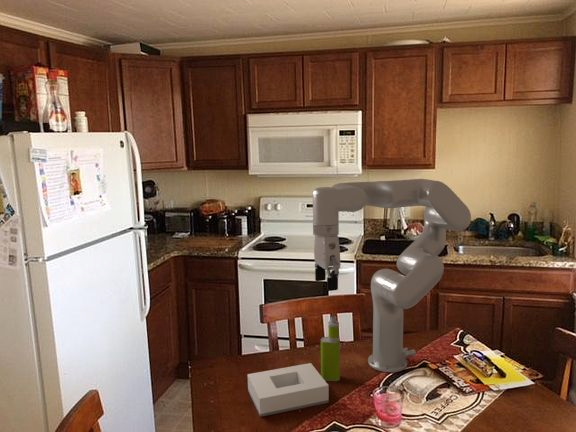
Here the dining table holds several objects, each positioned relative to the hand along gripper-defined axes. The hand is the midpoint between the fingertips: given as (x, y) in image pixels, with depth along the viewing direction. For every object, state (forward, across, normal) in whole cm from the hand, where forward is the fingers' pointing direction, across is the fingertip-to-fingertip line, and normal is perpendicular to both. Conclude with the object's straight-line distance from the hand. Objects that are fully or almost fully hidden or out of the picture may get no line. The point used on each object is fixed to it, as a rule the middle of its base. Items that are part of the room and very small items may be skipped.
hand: (326, 285), depth 144 cm
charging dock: (+30, -6, +15) cm, 34 cm away
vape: (+30, 0, -1) cm, 30 cm away
